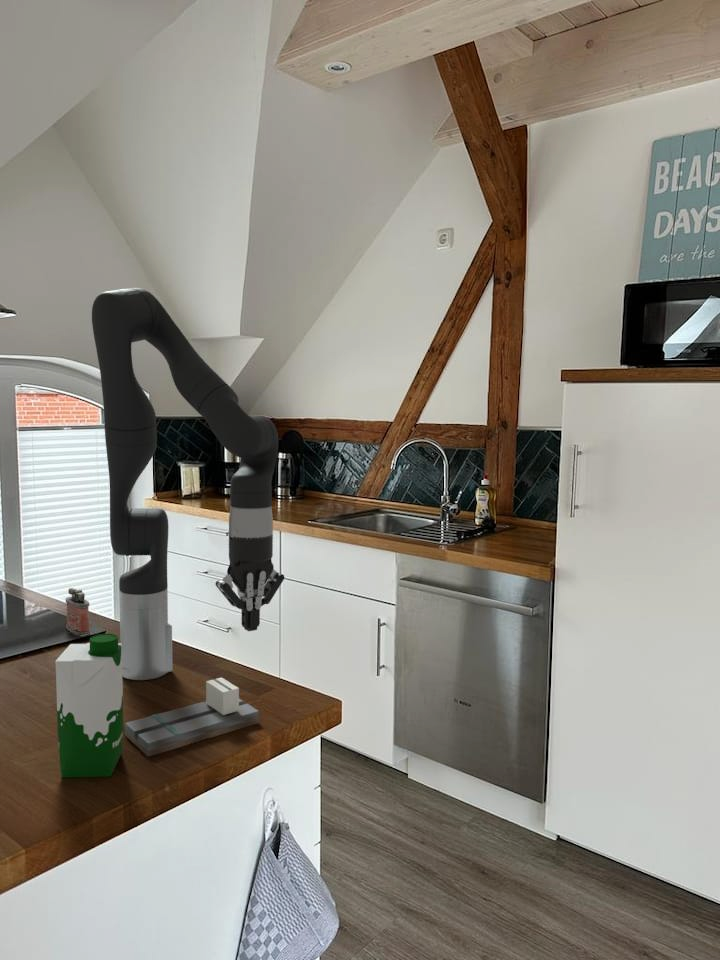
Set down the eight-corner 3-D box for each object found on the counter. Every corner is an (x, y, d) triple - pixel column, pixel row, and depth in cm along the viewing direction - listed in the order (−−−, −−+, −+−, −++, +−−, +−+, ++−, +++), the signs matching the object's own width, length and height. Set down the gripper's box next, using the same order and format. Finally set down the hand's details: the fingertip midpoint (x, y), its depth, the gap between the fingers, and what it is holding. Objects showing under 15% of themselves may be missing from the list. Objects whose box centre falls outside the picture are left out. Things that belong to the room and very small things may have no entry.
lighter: (93, 634, 175) (92, 592, 174) (79, 637, 173) (78, 594, 171) (76, 626, 180) (75, 585, 179) (63, 629, 178) (61, 587, 177)
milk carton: (115, 779, 111) (113, 647, 108) (51, 781, 110) (47, 648, 108) (128, 751, 120) (126, 628, 117) (69, 752, 119) (66, 628, 116)
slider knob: (221, 705, 134) (221, 676, 134) (238, 717, 130) (238, 687, 129) (206, 709, 132) (206, 680, 132) (223, 721, 128) (223, 691, 127)
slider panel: (232, 705, 137) (232, 693, 137) (258, 723, 130) (258, 710, 130) (125, 735, 125) (125, 722, 125) (148, 756, 118) (147, 742, 118)
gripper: (272, 525, 138) (271, 618, 140) (206, 532, 130) (206, 630, 131) (295, 531, 132) (294, 628, 134) (227, 539, 124) (226, 642, 126)
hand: (250, 629), depth 133 cm, fingers closed
